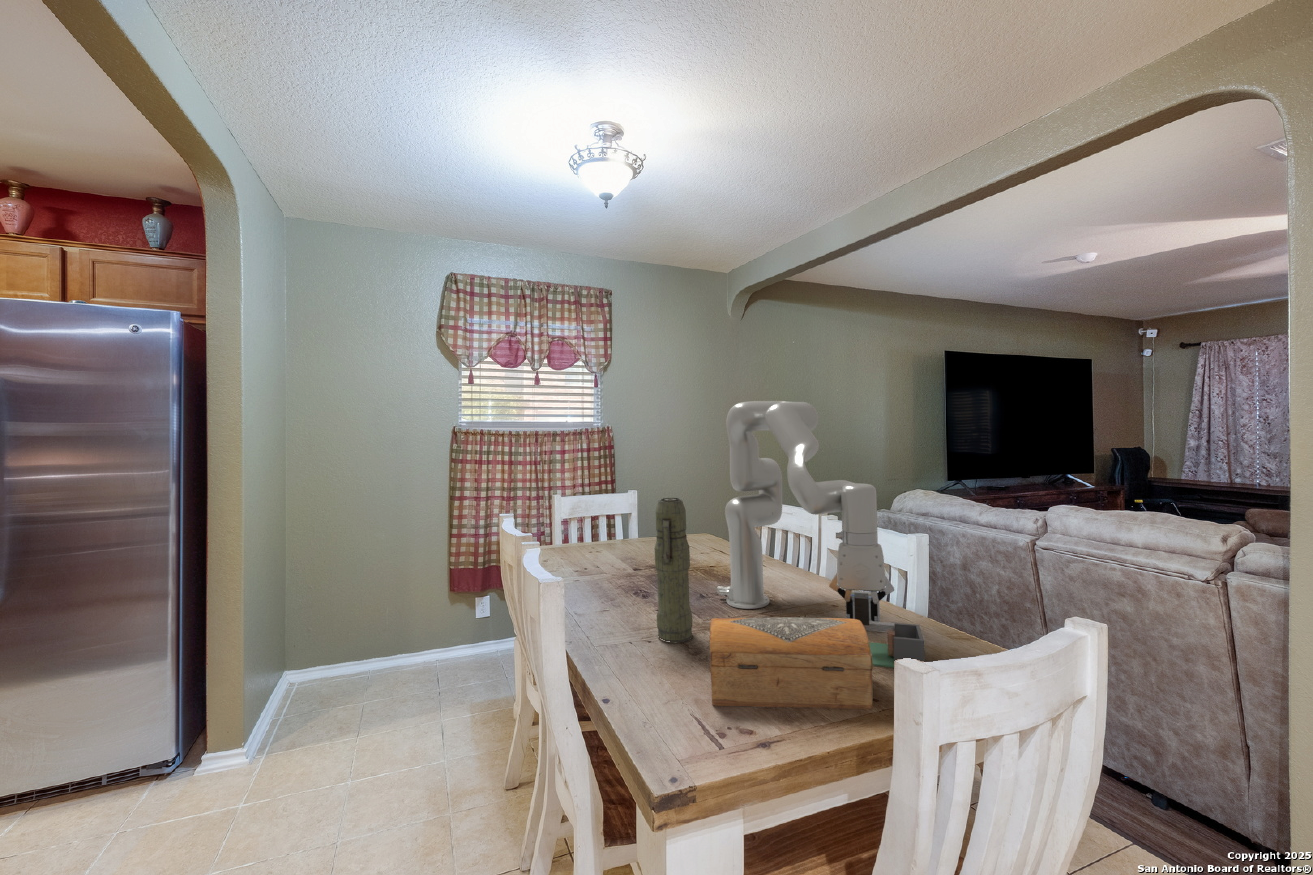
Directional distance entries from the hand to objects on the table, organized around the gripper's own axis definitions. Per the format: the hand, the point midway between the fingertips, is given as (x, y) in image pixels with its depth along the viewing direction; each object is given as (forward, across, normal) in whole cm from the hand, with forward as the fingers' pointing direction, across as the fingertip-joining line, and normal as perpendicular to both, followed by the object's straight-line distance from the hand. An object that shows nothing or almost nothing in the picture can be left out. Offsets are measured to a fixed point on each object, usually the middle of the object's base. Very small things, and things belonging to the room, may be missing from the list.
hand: (861, 617), depth 126 cm
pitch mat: (+8, +4, 0) cm, 9 cm away
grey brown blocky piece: (+7, -1, 0) cm, 7 cm away
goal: (+8, +9, 0) cm, 12 cm away
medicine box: (+9, 0, +17) cm, 19 cm away
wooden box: (+9, -15, -21) cm, 27 cm away
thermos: (+8, -45, -1) cm, 46 cm away
